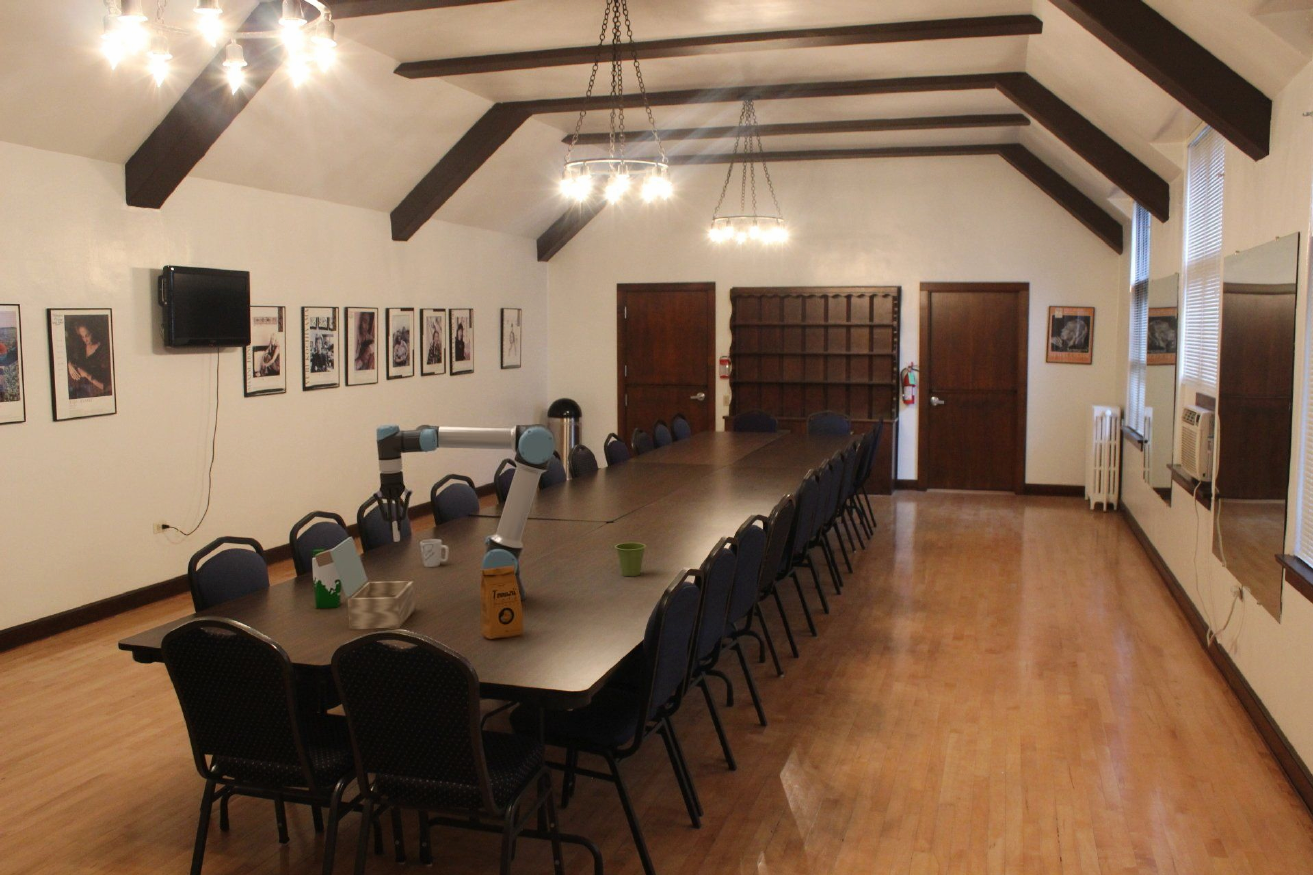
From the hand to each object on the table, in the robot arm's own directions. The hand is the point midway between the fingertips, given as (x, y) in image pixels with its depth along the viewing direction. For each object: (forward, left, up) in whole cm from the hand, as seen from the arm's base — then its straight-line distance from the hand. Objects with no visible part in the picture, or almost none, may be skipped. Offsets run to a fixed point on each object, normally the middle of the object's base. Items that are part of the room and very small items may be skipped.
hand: (397, 540), depth 352 cm
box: (+4, +6, -25) cm, 26 cm away
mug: (+3, -70, -25) cm, 74 cm away
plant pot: (-77, -49, -25) cm, 94 cm away
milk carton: (+28, -12, -25) cm, 40 cm away
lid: (+14, +6, -7) cm, 17 cm away
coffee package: (-39, +27, -25) cm, 54 cm away
